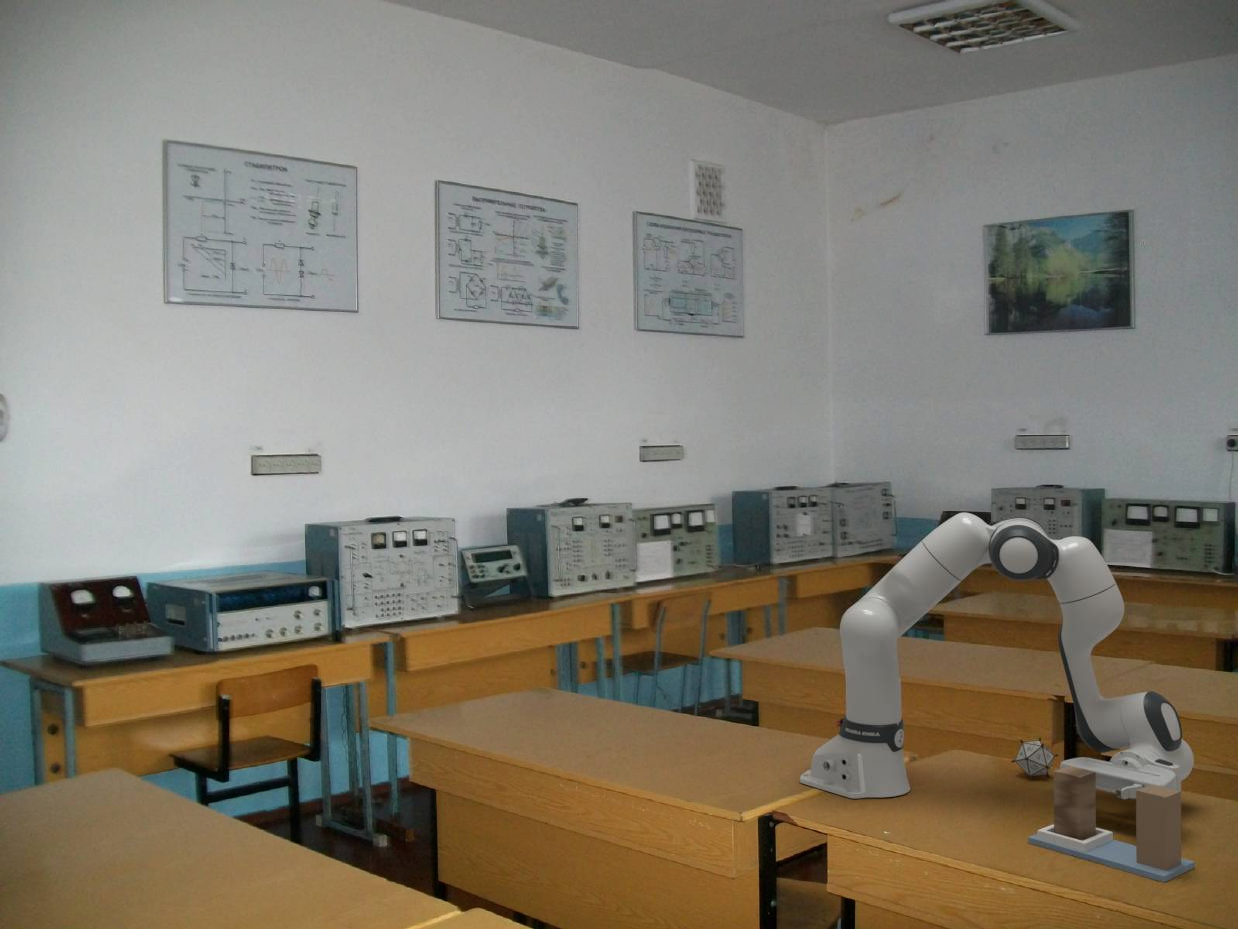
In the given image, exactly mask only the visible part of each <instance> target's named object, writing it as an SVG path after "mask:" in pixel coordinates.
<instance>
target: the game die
mask: <svg viewBox="0 0 1238 929" xmlns="http://www.w3.org/2000/svg"><path fill="white" fill-rule="evenodd" d="M1019 742H1020V743H1021V744H1020V747H1019V749H1018V751H1017V754H1016V757H1015V759H1013V760H1011V761H1010V762H1011V763H1016V764H1017V765H1018V766H1019V768H1020V769H1021V770H1022V771H1024V773H1025V774H1027V775H1028V777H1027V778H1028V781H1030V780H1031V778H1032V777H1036V776H1045V775H1046V776H1047V778H1051V775H1050V774H1049V772H1050V770H1051V767H1052V765H1053V762H1054V760H1055V757H1059V756H1060V755H1059V754H1054V753H1053V751H1051V750H1050V748H1048V747H1047V746H1046V745H1045V743H1044V742H1042V736H1040V737H1039V738H1038V740H1030V741H1024V740H1023V739H1021V738H1020V739H1019Z"/></svg>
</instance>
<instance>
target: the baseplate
mask: <svg viewBox="0 0 1238 929" xmlns="http://www.w3.org/2000/svg"><path fill="white" fill-rule="evenodd" d="M1135 813H1136V814H1135V823H1136V824H1135V826H1136V827H1135V828H1136V831H1135V832H1136V833H1135V835H1136V836H1135V838H1136V839H1135V840H1136V841H1135V842H1136V843H1135V844H1136V845H1133V844H1132V843H1131V844H1130V843H1127V842H1123V841H1120V840H1116V839H1114V832H1113V831H1110V830H1106V829H1104V828H1103V829H1102V828H1100V827H1099V828H1098V827H1096V836H1093V837H1091V838H1088V839H1086V840H1084V841H1082V840H1078V839H1074V838H1071V837H1067V836H1064V835H1060V834H1056V833H1054V823H1053V824H1050V825H1048V826H1045V827H1043V828H1041V829H1037V833H1035V834H1033V835H1030V836H1028V837H1027V840H1028V842H1027V843H1028V844H1031V845H1033V846H1038V847H1041V848H1045V849H1049V850H1052V851H1055V852H1059V853H1061V852H1062V854H1065V855H1069V856H1072V855H1073V856H1072V857H1075V856H1076V858H1079V859H1083V860H1085V859H1086V861H1089V860H1090V861H1089V862H1093V863H1096V862H1098V863H1097V864H1099V863H1100V864H1099V865H1102V864H1103V866H1107V867H1110V868H1112V869H1117V870H1121V871H1124V872H1126V873H1130V874H1133V875H1137V876H1141V877H1144V878H1147V879H1150V880H1155V881H1158V882H1160V883H1167V882H1168V881H1171V880H1172V879H1174V878H1176V877H1177V878H1178V877H1179V876H1180V875H1183V874H1185V873H1187V872H1189V871H1191V870H1193V869H1195V868H1196V867H1195V866H1196V865H1195V864H1196V863H1195V861H1193V860H1190V859H1186V858H1183V857H1182V790H1181V791H1177V790H1173V789H1169V788H1164V787H1160V786H1155V785H1149V786H1147V787H1144V788H1141V789H1139V790H1136V799H1135Z"/></svg>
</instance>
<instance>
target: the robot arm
mask: <svg viewBox="0 0 1238 929" xmlns="http://www.w3.org/2000/svg"><path fill="white" fill-rule="evenodd" d="M1104 559H1105V558H1104V557H1103V556H1102V554H1101V553H1100V551H1099V550H1098V549H1097V547H1096V545H1094V542H1092V541H1091V540H1090V539H1088V538H1086V537H1084V536H1079V535H1078V536H1077V535H1076V536H1074V535H1073V536H1067V537H1063V538H1062V539H1053V538H1050V537H1049V536H1048V535H1047V532H1046V530H1045V529H1044V528H1043V526H1042V525H1041V524H1040V523H1039V522H1037V521H1036V520H1034V519H1033V518H1030V517H1025V516H1013V517H1007V518H1003V519H1000V520H996V521H991V522H989V523H987V522H985V521H984V520H983V519H982V518H980V517H979V516H977V515H975V514H973V513H970V512H959V513H957V514H955V515H953V516H951V517H950V518H949V519H947V520H945V521H944V522H942V523H941V524H939V526H937V527H936V528H935V529H933V530H932V531H931V532H929V534H927V535H926V536H925V537H924V538H923V539H921V541H920V542H919V543H917V544H916V545H915V546H914V547H913V548H912V549H911V550H910V551H909V552H908V553H907V554H906V555H905V556H904V557H903V558H902V559H901V560H899V561H898V562H897V563H896V564H895V565H894V566H893V567H892V568H891V569H890V570H889V571H888V572H887V573H886V574H885V575H884V576H883V577H882V578H881V579H880V580H879V581H878V582H876V584H875V585H874V586H873V587H872V588H871V589H870V590H868V591H867V592H866V593H865V595H863V596H862V597H861V598H860V599H859V600H858V601H856V602H855V603H853V604H852V606H850V607H849V608H848V609H846V611H845V612H844V614H843V615H842V616H841V620H840V623H839V624H840V625H839V634H840V643H841V644H840V645H841V646H840V647H841V655H842V662H843V668H844V675H845V713H846V714H845V716H844V717H842V718H840V719H839V720H836V721H835V722H834V724H835V725H834V728H838V727H839V731H838V734H837V735H836V736H835V735H834V737H832V738H831V739H829V740H828V741H827V742H825V743H824V744H823V745H821V746H819V747H818V748H817V749H816V751H814V753H813V756H812V759H811V764H810V769H809V770H806V771H805V772H803V773H802V774H801V775H800V777H799V778H800V779H799V782H800V784H804V785H807V786H810V787H813V788H816V789H819V790H823V791H826V792H830V793H833V794H836V795H839V796H843V797H846V798H848V799H864V798H891V797H897V796H898V797H899V796H902V795H905V794H907V793H909V792H910V791H911V786H910V782H909V779H908V775H907V770H906V765H905V758H904V750H903V748H904V743H905V733H904V732H905V729H904V727H905V726H904V724H905V723H904V720H903V718H902V679H901V676H900V669H899V668H900V667H899V657H898V640H899V639H900V638H901V637H902V636H903V635H904V634H905V633H906V632H907V631H908V630H909V629H910V628H911V627H913V626H914V625H915V624H916V623H917V622H918V621H919V620H921V618H923V617H924V616H925V615H927V613H929V612H930V611H931V610H932V609H933V608H934V607H935V606H936V605H937V604H938V603H940V602H941V601H942V600H943V599H944V598H945V597H946V596H947V595H948V594H950V592H951V591H952V590H954V589H955V588H956V587H957V586H958V585H959V584H960V583H961V582H962V581H964V579H965V578H967V576H969V575H970V574H971V573H972V572H973V571H974V570H976V569H977V568H978V567H981V566H982V565H985V564H992V566H993V567H994V569H995V570H996V571H997V572H998V573H999V574H1000V575H1001V576H1003V577H1005V578H1006V579H1009V580H1014V581H1022V582H1023V581H1033V580H1035V581H1037V580H1046V581H1047V582H1049V584H1050V585H1051V587H1052V590H1053V592H1054V594H1055V596H1056V599H1057V601H1058V603H1059V607H1060V610H1061V613H1062V626H1061V627H1060V628H1059V630H1058V634H1057V641H1058V648H1059V652H1060V657H1061V661H1062V665H1063V669H1064V672H1065V676H1066V680H1067V684H1068V687H1069V691H1070V695H1071V698H1072V703H1073V706H1074V716H1075V724H1076V730H1077V732H1078V735H1079V738H1080V739H1081V740H1082V742H1084V744H1085V745H1087V746H1088V747H1089V748H1091V749H1092V750H1094V751H1096V752H1097V753H1101V754H1105V753H1109V752H1114V751H1117V750H1120V751H1118V752H1116V753H1115V754H1113V756H1112V757H1111V758H1110V760H1109V761H1106V760H1102V759H1097V758H1093V757H1086V756H1085V757H1084V756H1082V757H1081V756H1079V757H1074V758H1069V759H1065V760H1063V761H1061V762H1060V765H1059V767H1060V768H1059V769H1061V768H1064V767H1067V766H1072V767H1077V768H1081V769H1085V770H1090V771H1094V772H1096V790H1099V791H1104V792H1107V793H1111V794H1115V797H1116V799H1117V798H1118V799H1121V800H1127V799H1131V800H1136V790H1139V789H1141V788H1144V787H1147V786H1149V785H1155V786H1160V787H1164V788H1169V789H1173V790H1177V791H1181V792H1182V781H1184V780H1185V779H1186V778H1187V777H1188V776H1189V775H1190V774H1191V772H1192V770H1193V767H1194V764H1195V759H1194V758H1195V757H1194V754H1193V751H1192V748H1191V747H1190V746H1189V744H1188V743H1187V741H1185V740H1184V739H1183V730H1182V723H1181V720H1180V717H1179V714H1178V711H1177V710H1176V708H1175V707H1174V706H1173V705H1172V703H1171V702H1169V700H1168V699H1166V697H1164V696H1163V695H1162V694H1160V693H1158V692H1156V691H1154V690H1151V691H1144V692H1143V691H1142V692H1136V693H1131V694H1127V695H1123V696H1115V697H1111V698H1106V697H1104V696H1102V694H1101V693H1100V690H1099V687H1098V683H1097V678H1096V675H1095V671H1094V666H1093V664H1092V656H1091V654H1092V652H1093V649H1094V647H1095V646H1096V645H1098V644H1099V643H1100V642H1101V641H1103V640H1104V639H1105V638H1107V637H1109V635H1111V634H1112V633H1113V632H1114V631H1115V630H1116V629H1118V627H1119V625H1120V624H1121V622H1122V620H1123V617H1124V615H1125V602H1124V598H1123V596H1122V594H1121V591H1120V589H1119V587H1118V585H1117V582H1116V580H1115V578H1114V576H1113V574H1112V572H1111V570H1110V568H1109V566H1108V564H1107V562H1106V561H1105V560H1104ZM1121 749H1123V750H1121Z"/></svg>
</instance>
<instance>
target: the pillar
mask: <svg viewBox="0 0 1238 929" xmlns="http://www.w3.org/2000/svg"><path fill="white" fill-rule="evenodd" d="M1096 790H1097V789H1096V772H1094V771H1090V770H1085V769H1081V768H1077V767H1072V766H1067V767H1064V768H1061V769H1060V768H1058V769H1056V770H1053V824H1054V833H1056V834H1060V835H1064V836H1067V837H1071V838H1074V839H1078V840H1082V841H1084V840H1086V839H1088V838H1091V837H1093V836H1096V828H1097V822H1096V821H1097V818H1096V817H1097V814H1096V813H1097V808H1096V805H1097V804H1096V803H1097V802H1096V800H1097V799H1096V798H1097V796H1096V794H1097V792H1096Z"/></svg>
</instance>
